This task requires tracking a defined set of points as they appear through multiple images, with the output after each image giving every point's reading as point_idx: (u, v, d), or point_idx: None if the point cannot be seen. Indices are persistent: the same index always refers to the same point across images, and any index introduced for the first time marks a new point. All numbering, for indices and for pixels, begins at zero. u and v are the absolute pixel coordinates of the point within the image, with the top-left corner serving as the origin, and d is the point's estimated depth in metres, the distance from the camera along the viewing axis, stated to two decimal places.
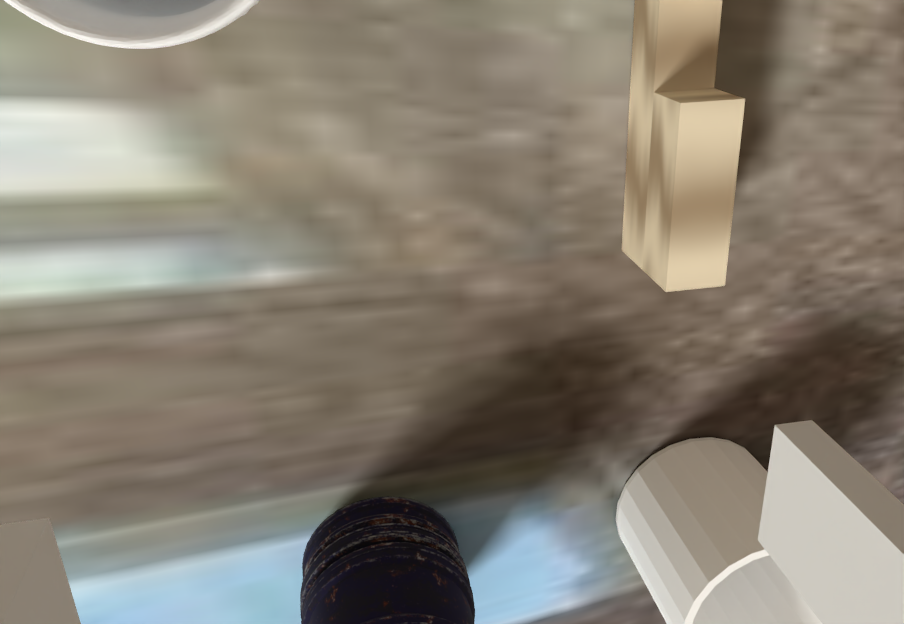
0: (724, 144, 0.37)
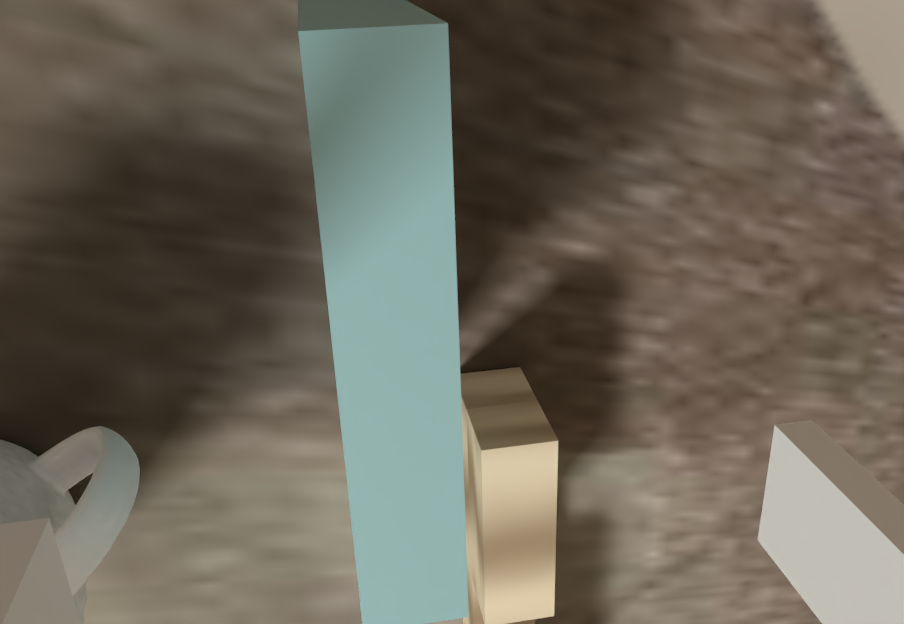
0: None
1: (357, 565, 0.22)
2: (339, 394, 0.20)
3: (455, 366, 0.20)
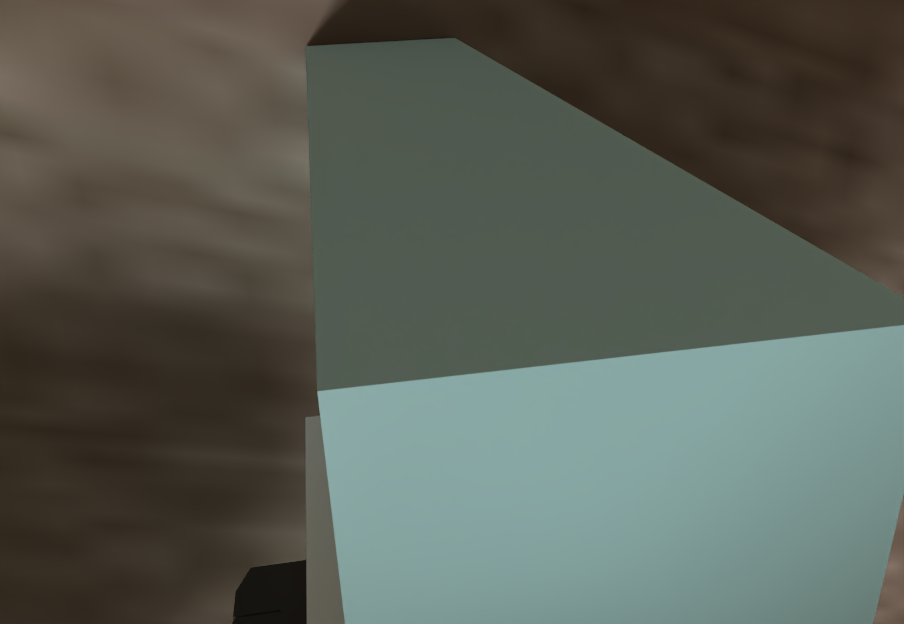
0: None
1: None
2: None
3: None
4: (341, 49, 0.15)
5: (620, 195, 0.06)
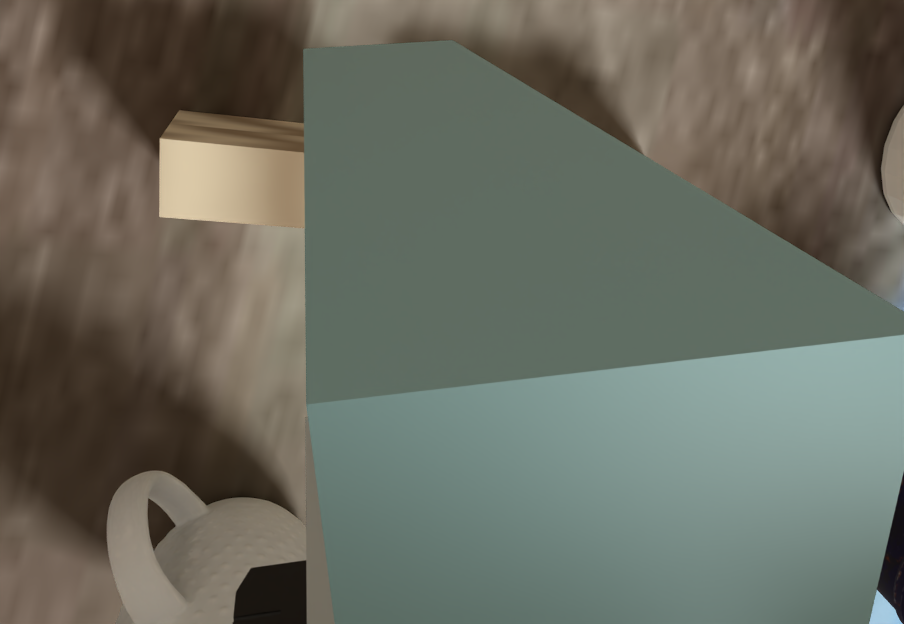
0: None
1: None
2: None
3: None
4: (338, 52, 0.15)
5: (614, 202, 0.06)
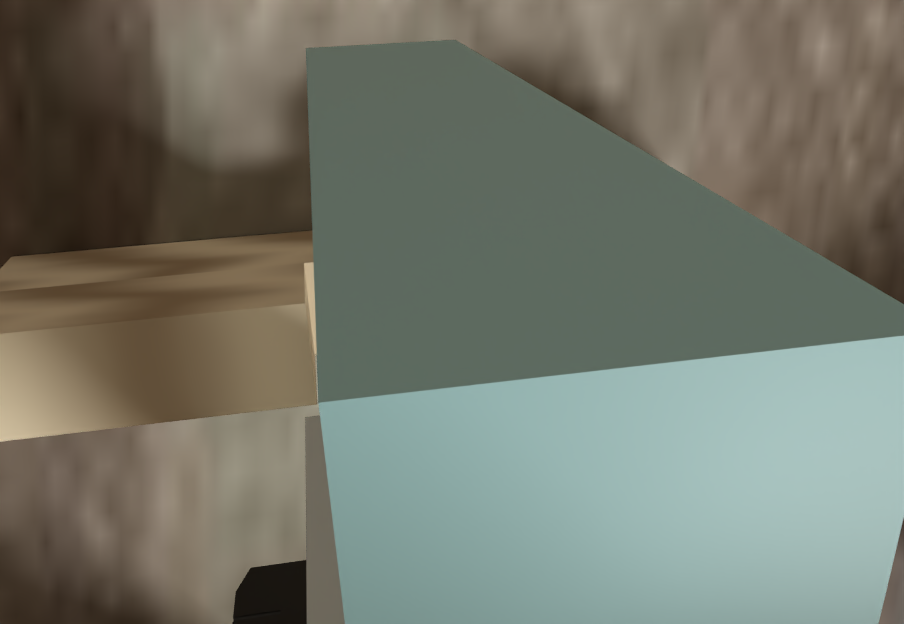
0: None
1: None
2: None
3: None
4: (341, 51, 0.15)
5: (622, 201, 0.06)
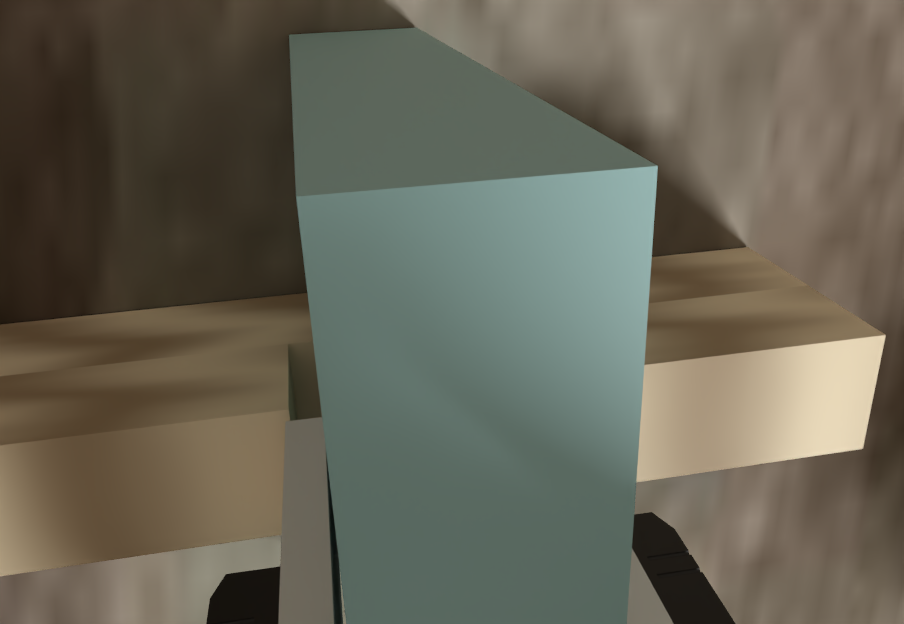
0: None
1: None
2: None
3: None
4: (319, 36, 0.18)
5: (502, 118, 0.09)
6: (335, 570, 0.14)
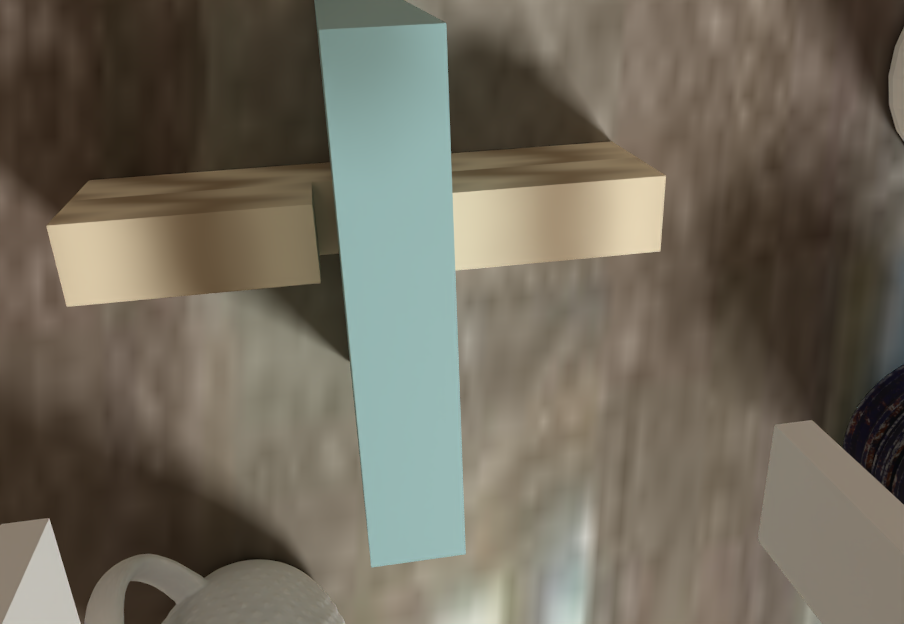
0: (484, 210, 0.30)
1: (366, 504, 0.25)
2: (351, 347, 0.22)
3: (453, 324, 0.23)
4: None
5: (404, 16, 0.21)
6: None
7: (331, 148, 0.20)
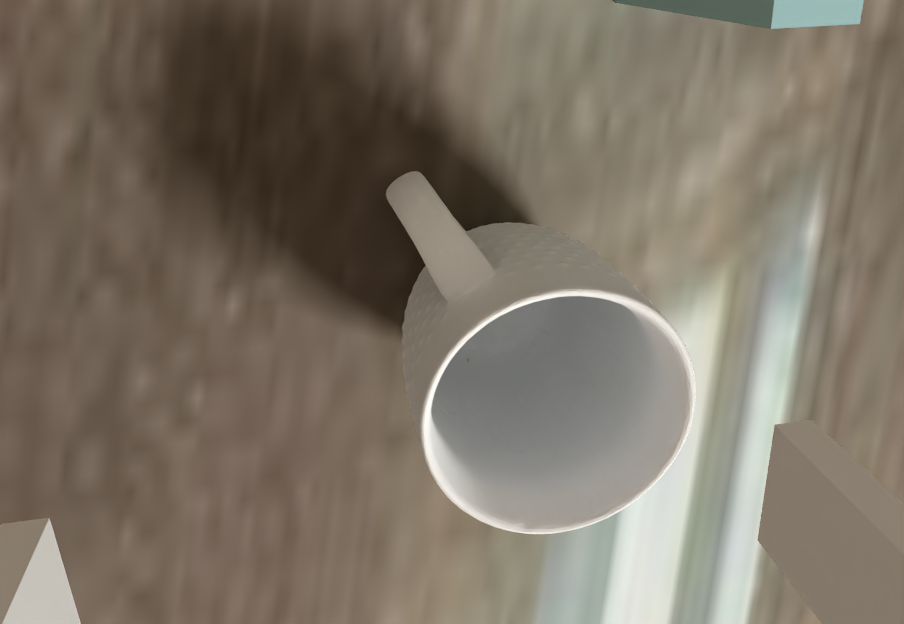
0: None
1: None
2: None
3: None
4: None
5: None
6: None
7: None
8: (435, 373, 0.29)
